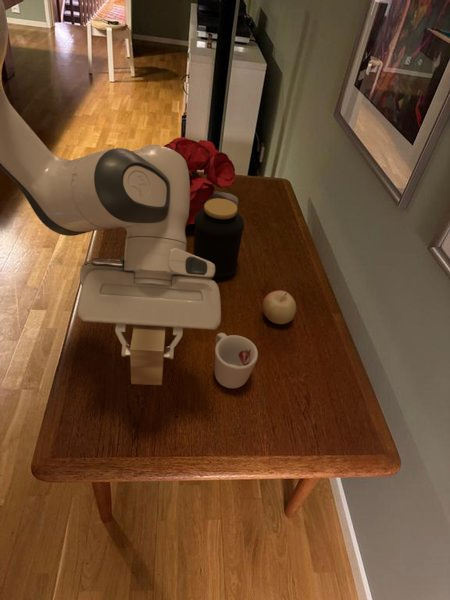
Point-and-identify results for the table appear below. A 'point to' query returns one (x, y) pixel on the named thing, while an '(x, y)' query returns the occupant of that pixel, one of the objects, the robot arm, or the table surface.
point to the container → (218, 235)
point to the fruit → (279, 307)
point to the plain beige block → (147, 355)
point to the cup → (234, 360)
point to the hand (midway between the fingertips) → (148, 357)
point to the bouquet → (213, 165)
